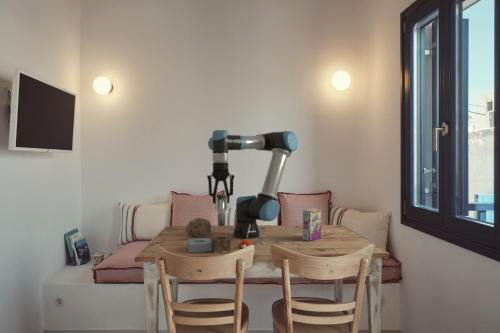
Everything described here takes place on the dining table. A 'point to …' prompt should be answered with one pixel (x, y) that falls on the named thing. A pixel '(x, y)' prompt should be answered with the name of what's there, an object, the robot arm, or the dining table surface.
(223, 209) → the lock pin
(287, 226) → the dining table surface
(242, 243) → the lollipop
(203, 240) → the dock
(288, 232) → the dining table surface
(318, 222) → the candy bar box
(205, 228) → the rock
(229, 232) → the dining table surface
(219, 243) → the mount
